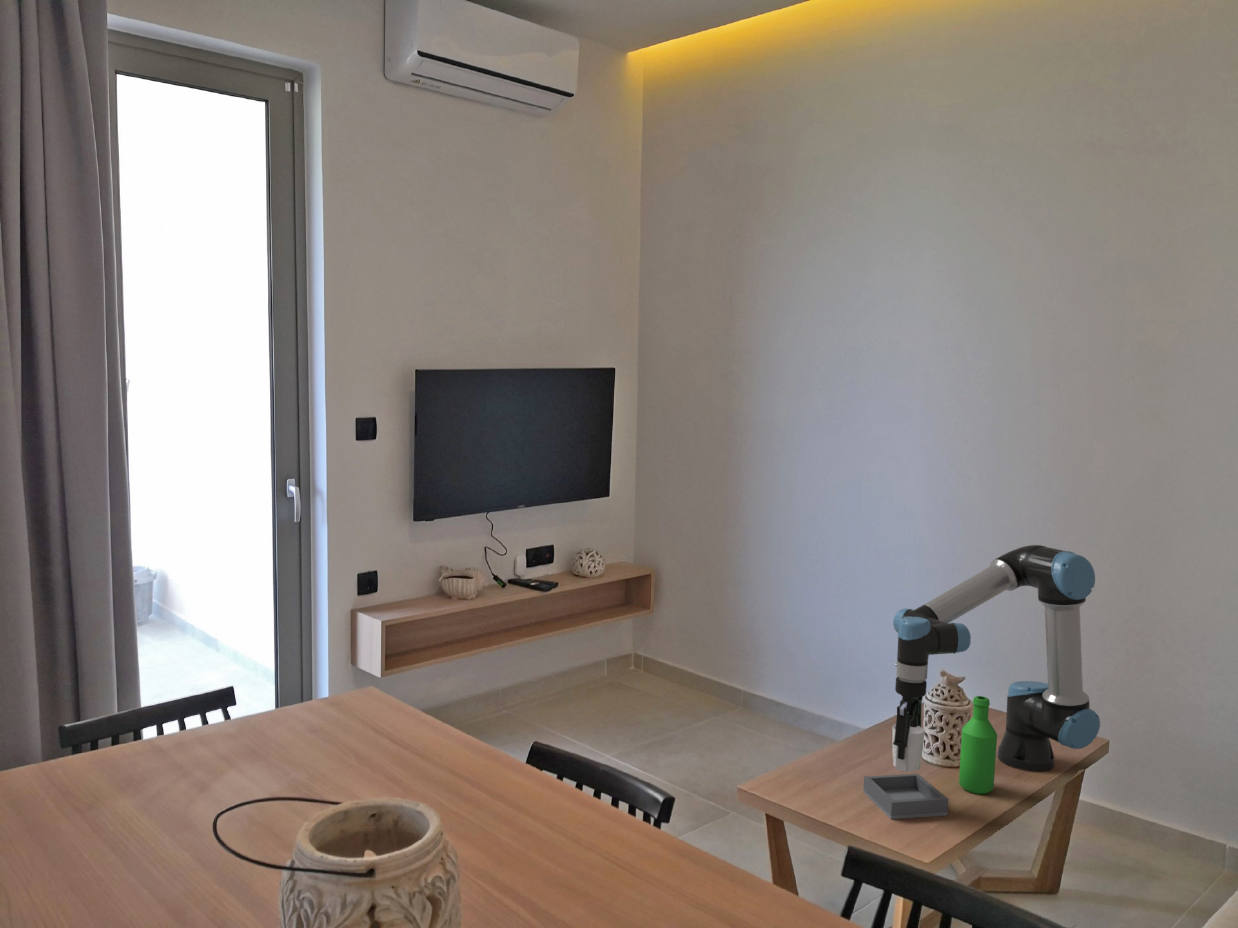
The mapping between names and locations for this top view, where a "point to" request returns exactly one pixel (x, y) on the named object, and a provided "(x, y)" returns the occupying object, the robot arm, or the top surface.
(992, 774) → the bottle
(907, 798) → the gray tray
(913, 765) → the white cup
